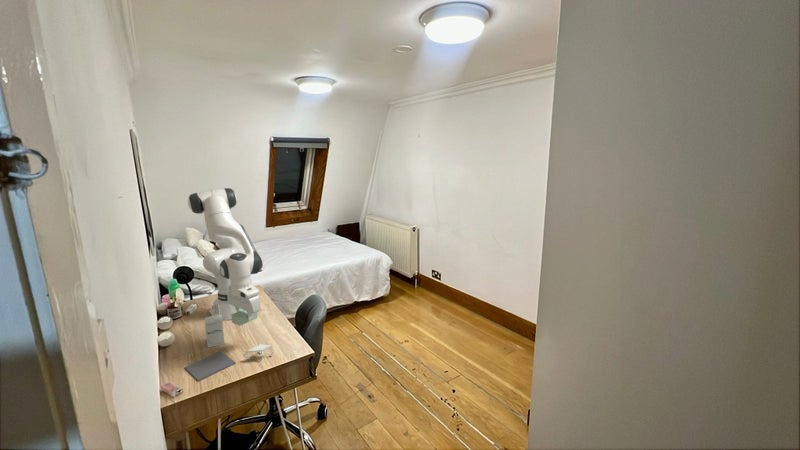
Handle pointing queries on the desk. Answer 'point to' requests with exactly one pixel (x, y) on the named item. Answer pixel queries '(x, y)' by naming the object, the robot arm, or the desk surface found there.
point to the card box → (242, 317)
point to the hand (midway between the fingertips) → (244, 316)
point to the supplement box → (214, 330)
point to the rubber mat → (209, 365)
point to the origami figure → (259, 349)
